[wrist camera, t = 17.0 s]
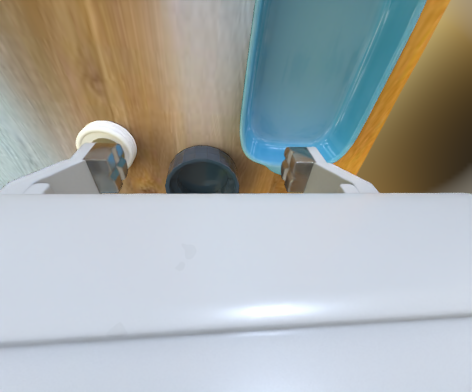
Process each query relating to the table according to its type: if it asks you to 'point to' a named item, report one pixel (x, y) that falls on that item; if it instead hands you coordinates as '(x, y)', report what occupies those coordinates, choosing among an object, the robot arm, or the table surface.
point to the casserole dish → (318, 72)
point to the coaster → (109, 137)
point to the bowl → (202, 172)
